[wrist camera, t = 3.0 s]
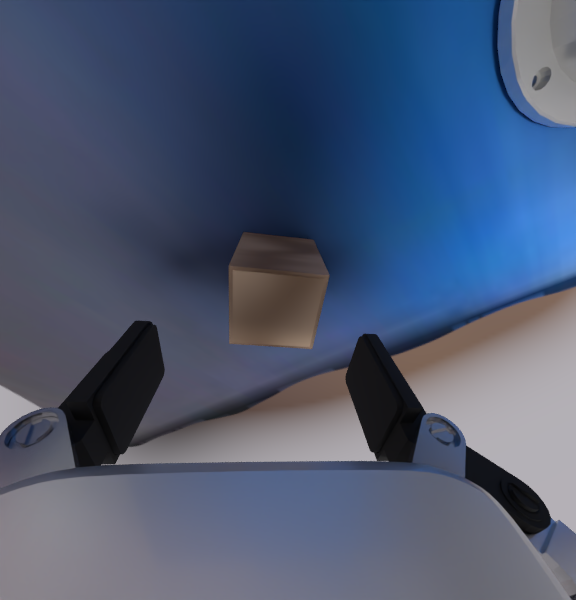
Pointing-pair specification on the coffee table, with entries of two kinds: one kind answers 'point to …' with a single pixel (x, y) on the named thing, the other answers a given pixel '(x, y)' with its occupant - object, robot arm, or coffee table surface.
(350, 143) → the coffee table surface
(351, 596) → the robot arm
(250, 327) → the walnut block
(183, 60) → the coffee table surface
